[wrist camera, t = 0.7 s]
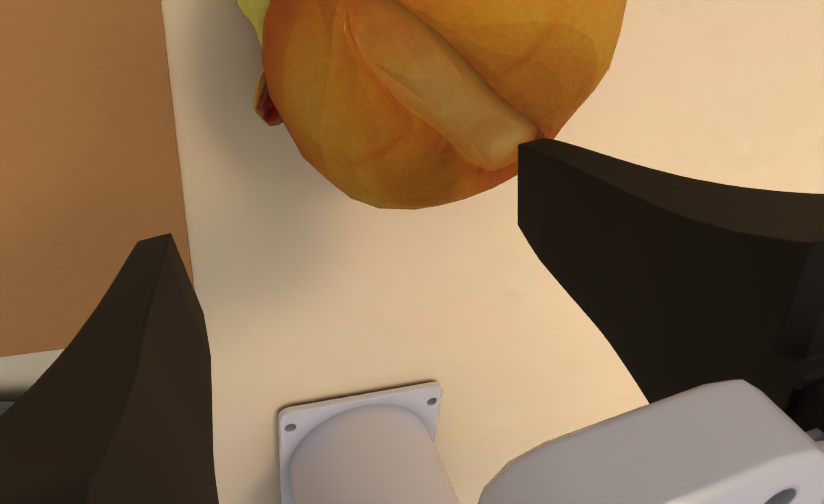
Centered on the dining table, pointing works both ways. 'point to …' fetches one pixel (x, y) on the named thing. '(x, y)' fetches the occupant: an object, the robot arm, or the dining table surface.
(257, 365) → the dining table surface
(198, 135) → the dining table surface
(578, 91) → the cheeseburger
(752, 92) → the dining table surface
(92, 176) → the placemat
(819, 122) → the dining table surface
